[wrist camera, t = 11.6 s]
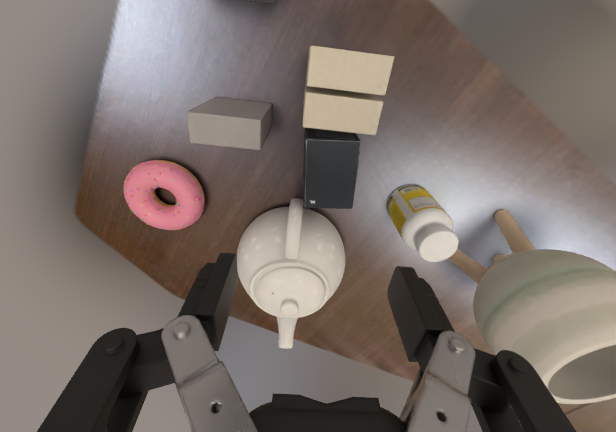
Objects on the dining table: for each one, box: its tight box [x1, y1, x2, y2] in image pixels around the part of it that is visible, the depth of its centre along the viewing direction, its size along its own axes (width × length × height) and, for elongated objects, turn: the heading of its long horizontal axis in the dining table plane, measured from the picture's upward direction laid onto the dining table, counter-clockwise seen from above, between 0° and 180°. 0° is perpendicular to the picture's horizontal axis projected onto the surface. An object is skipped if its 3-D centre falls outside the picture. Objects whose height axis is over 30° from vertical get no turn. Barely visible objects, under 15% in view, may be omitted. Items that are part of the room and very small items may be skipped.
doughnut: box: [123, 160, 205, 231], centre depth 39 cm, size 11×11×4 cm
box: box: [304, 127, 361, 209], centre depth 33 cm, size 8×6×11 cm
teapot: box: [237, 198, 345, 348], centre depth 40 cm, size 19×18×14 cm
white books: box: [303, 45, 394, 135], centre depth 28 cm, size 6×7×11 cm
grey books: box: [187, 0, 276, 150], centre depth 27 cm, size 16×7×10 cm, turn 173°
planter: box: [448, 210, 616, 404], centre depth 36 cm, size 16×16×22 cm
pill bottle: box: [387, 185, 459, 262], centre depth 37 cm, size 6×6×12 cm
